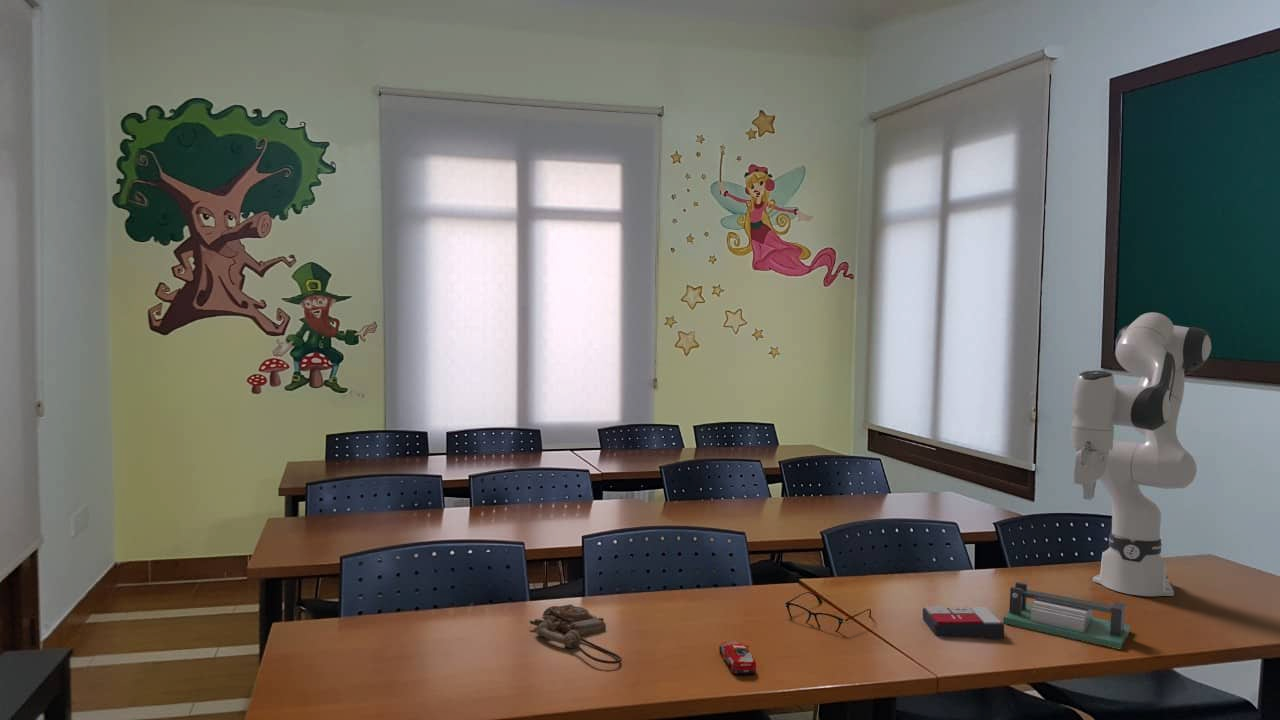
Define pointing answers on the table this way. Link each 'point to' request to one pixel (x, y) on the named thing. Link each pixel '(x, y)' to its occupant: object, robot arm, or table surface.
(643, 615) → the table surface
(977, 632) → the black and red box
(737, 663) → the race car
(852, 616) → the eyeglasses
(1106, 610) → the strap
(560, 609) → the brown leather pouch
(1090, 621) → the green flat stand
